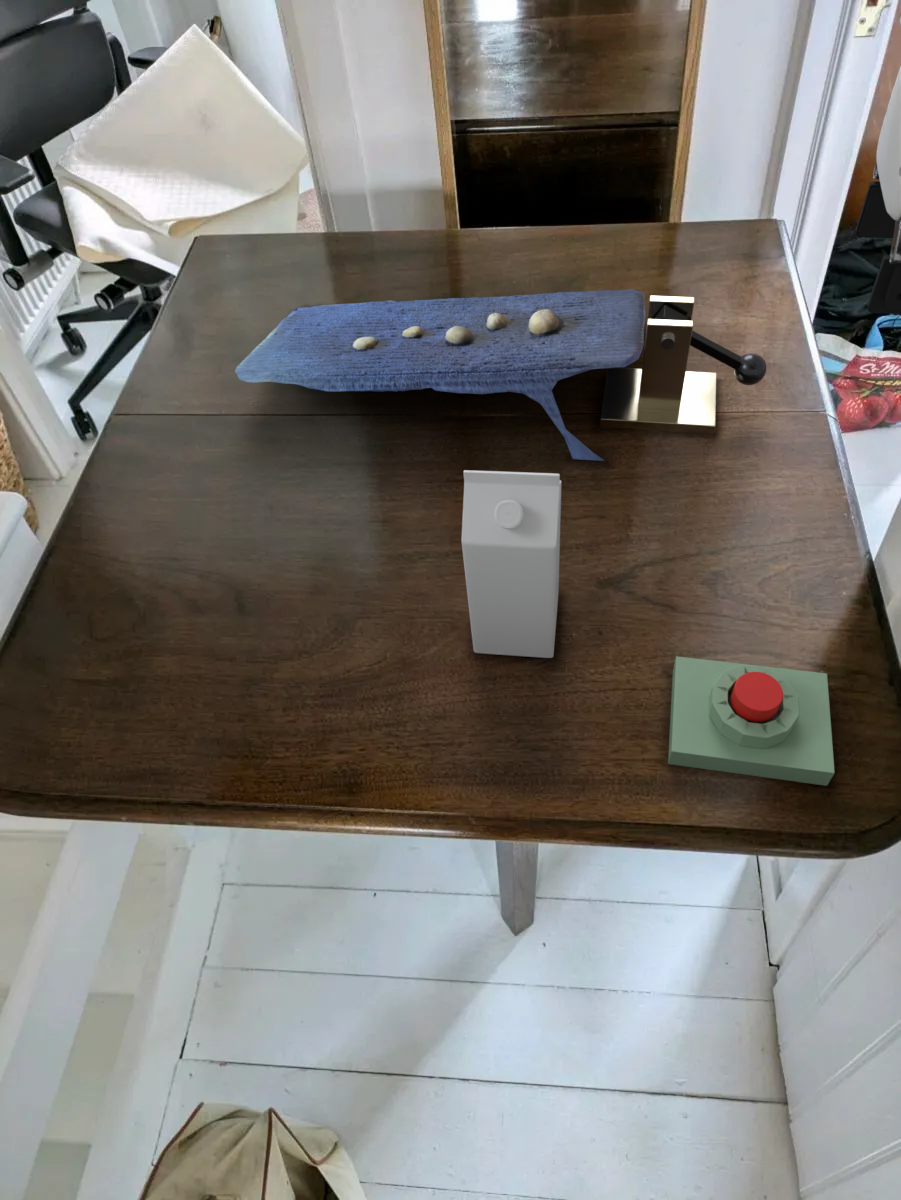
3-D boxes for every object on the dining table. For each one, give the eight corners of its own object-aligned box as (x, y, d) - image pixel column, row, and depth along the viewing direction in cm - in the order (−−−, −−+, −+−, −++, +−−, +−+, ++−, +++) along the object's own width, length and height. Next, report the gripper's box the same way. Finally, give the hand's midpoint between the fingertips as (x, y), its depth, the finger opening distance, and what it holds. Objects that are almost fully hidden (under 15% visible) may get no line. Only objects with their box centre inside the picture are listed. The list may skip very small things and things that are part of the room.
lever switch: (752, 377, 91) (772, 355, 89) (752, 396, 89) (773, 375, 87) (649, 322, 88) (667, 298, 86) (647, 340, 86) (665, 317, 84)
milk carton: (482, 591, 80) (469, 438, 65) (558, 596, 79) (562, 441, 64) (473, 654, 76) (457, 505, 61) (553, 659, 75) (556, 510, 60)
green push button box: (820, 687, 71) (833, 661, 68) (827, 786, 66) (841, 762, 63) (672, 670, 73) (678, 643, 70) (668, 764, 68) (674, 740, 65)
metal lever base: (714, 381, 96) (733, 287, 87) (713, 434, 91) (733, 340, 81) (607, 375, 98) (614, 282, 89) (600, 427, 93) (606, 334, 83)
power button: (777, 685, 67) (782, 674, 66) (779, 725, 65) (784, 714, 64) (730, 680, 68) (734, 668, 67) (730, 719, 66) (734, 708, 65)
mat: (241, 467, 97) (214, 370, 90) (312, 375, 119) (294, 292, 112) (645, 460, 88) (648, 351, 81) (641, 362, 110) (644, 270, 103)
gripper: (1091, 57, 42) (958, 347, 56) (1021, -58, 52) (923, 211, 66) (927, 59, 44) (837, 342, 57) (891, -53, 54) (821, 209, 67)
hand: (883, 271), depth 62 cm, fingers open, 9 cm apart
